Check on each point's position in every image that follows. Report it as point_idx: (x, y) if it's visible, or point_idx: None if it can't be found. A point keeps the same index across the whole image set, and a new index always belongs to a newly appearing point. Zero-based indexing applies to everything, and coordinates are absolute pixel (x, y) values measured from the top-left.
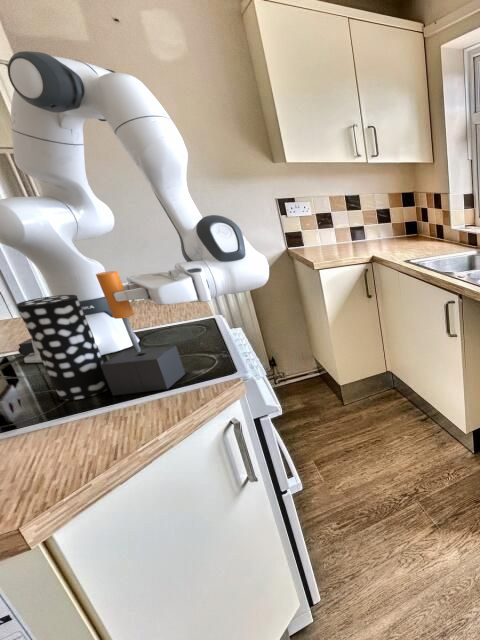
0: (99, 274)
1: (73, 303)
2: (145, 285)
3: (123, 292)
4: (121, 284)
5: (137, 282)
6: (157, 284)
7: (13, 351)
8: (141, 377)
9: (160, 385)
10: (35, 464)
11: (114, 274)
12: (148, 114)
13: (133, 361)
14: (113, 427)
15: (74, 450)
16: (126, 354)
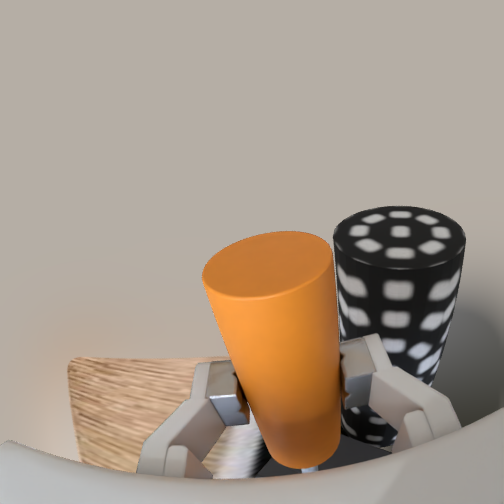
0: (241, 243)
1: (373, 282)
2: (95, 467)
3: (191, 395)
4: (254, 375)
5: (327, 470)
6: (31, 493)
7: None
8: None
9: None
10: (147, 372)
11: (212, 299)
12: None
13: (259, 474)
14: None
15: (139, 397)
16: (348, 463)
